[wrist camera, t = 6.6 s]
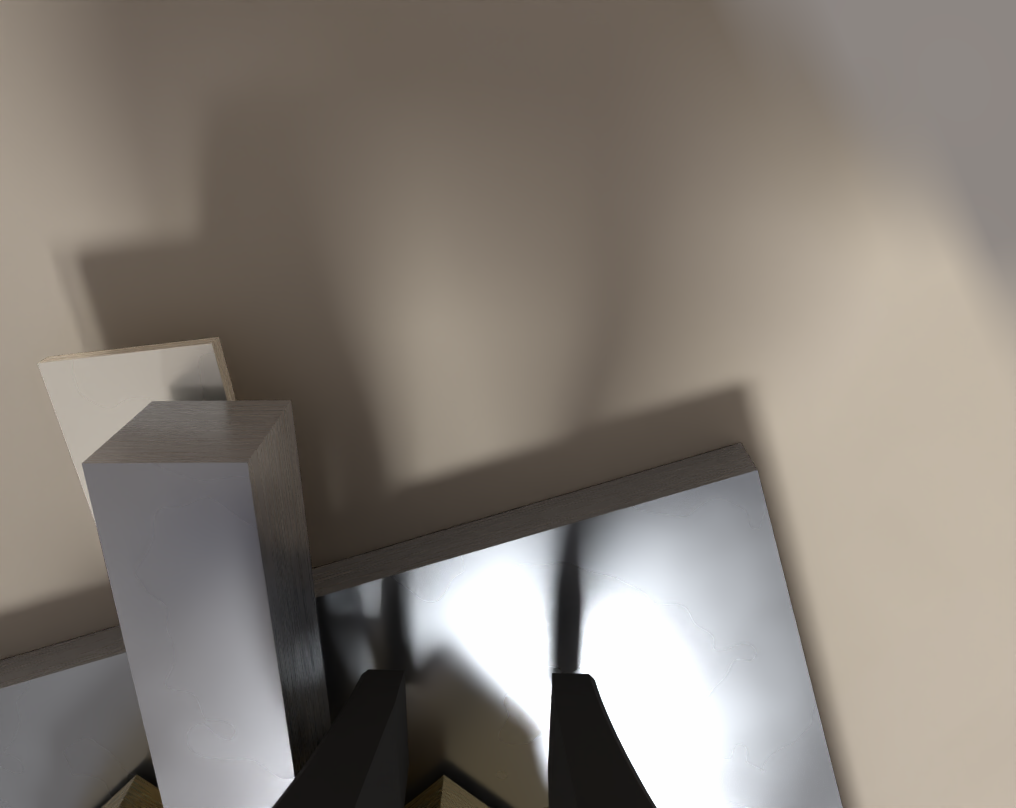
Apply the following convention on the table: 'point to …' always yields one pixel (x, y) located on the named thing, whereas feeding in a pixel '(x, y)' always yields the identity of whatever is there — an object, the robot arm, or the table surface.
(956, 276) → the table surface
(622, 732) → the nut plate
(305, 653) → the ring nut
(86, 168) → the table surface
